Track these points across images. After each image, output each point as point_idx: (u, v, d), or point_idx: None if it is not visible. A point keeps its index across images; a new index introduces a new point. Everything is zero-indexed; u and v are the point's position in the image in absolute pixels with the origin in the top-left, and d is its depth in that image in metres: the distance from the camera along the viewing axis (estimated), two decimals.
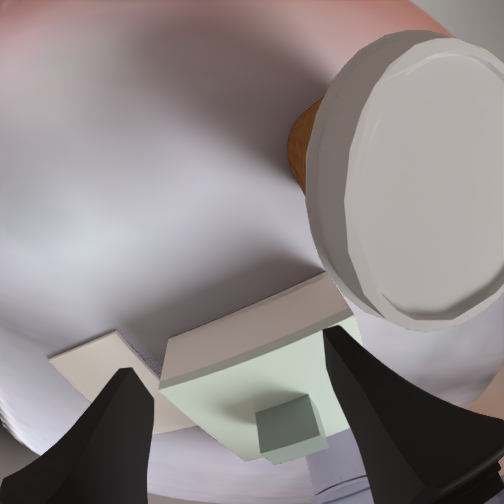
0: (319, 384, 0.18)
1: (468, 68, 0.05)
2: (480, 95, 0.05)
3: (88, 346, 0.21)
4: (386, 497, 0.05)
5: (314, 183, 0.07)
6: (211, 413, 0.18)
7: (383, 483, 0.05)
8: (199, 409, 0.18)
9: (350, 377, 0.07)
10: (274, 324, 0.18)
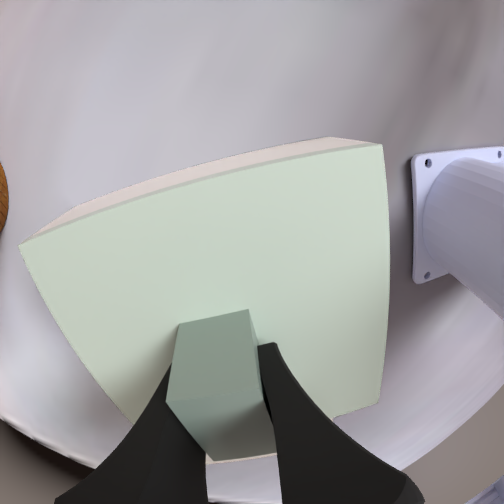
0: (154, 304, 0.09)
1: None
2: None
3: None
4: None
5: None
6: None
7: None
8: None
9: None
10: None
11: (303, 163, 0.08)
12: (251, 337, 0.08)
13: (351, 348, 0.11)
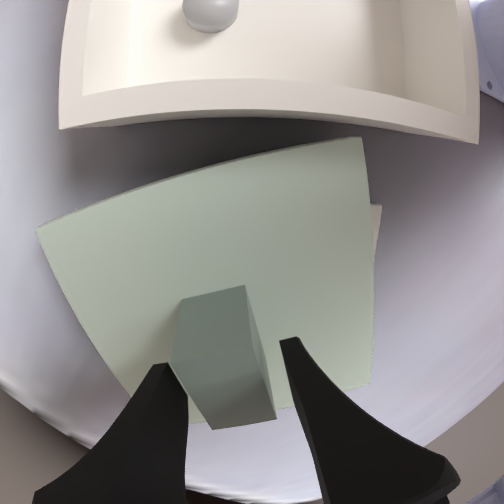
0: (160, 281, 0.11)
1: None
2: None
3: None
4: None
5: None
6: None
7: (325, 502, 0.05)
8: (192, 410, 0.14)
9: (296, 392, 0.07)
10: None
11: (291, 154, 0.09)
12: (247, 307, 0.10)
13: (341, 325, 0.12)
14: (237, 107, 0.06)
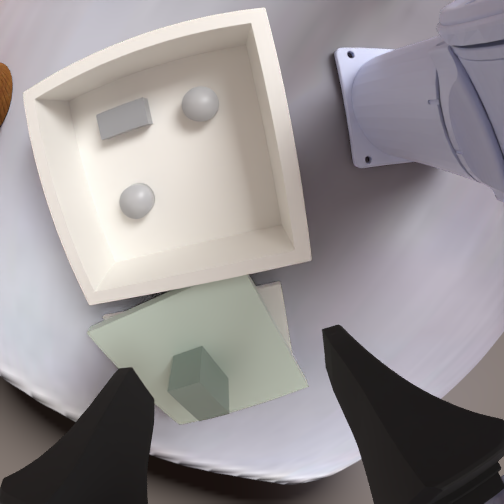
0: (159, 349, 0.20)
1: None
2: None
3: None
4: (386, 497, 0.05)
5: None
6: None
7: (383, 483, 0.05)
8: None
9: (350, 377, 0.07)
10: None
11: (204, 284, 0.18)
12: (200, 360, 0.18)
13: (267, 357, 0.21)
14: (161, 291, 0.15)
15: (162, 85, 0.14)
